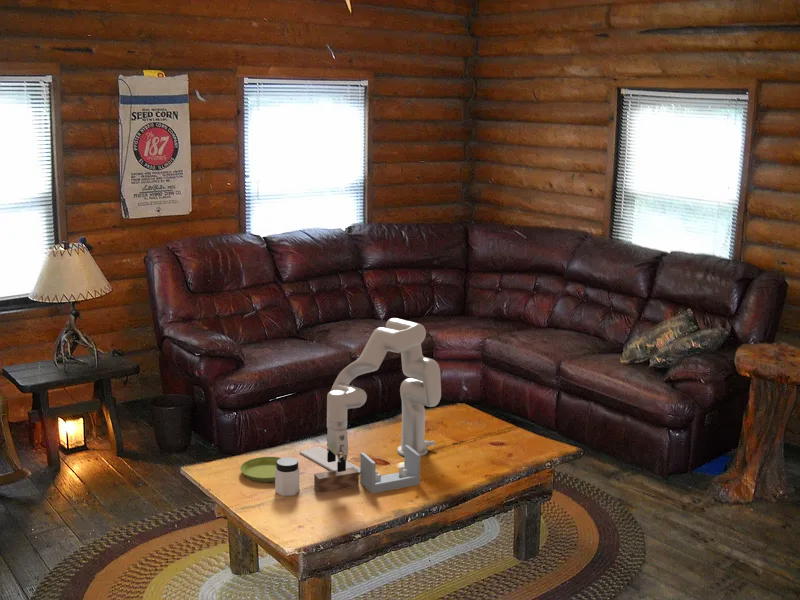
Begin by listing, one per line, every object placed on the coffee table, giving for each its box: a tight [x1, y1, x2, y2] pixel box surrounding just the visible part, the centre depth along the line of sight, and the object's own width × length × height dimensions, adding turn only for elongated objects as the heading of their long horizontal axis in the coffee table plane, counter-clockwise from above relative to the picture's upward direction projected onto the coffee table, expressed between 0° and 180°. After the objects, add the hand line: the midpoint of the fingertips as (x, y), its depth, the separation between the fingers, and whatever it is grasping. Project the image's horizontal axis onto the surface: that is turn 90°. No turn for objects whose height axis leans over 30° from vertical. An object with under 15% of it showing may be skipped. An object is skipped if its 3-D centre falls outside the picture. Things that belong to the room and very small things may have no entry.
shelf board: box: [313, 467, 360, 494], centre depth 346 cm, size 16×5×6 cm, turn 116°
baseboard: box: [299, 446, 360, 475], centre depth 369 cm, size 31×3×12 cm
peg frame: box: [359, 445, 422, 494], centre depth 349 cm, size 20×11×12 cm, turn 116°
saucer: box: [239, 456, 281, 483], centre depth 356 cm, size 21×21×3 cm
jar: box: [274, 456, 300, 497], centre depth 340 cm, size 9×8×12 cm
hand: (336, 466), depth 344 cm, fingers open, 9 cm apart
